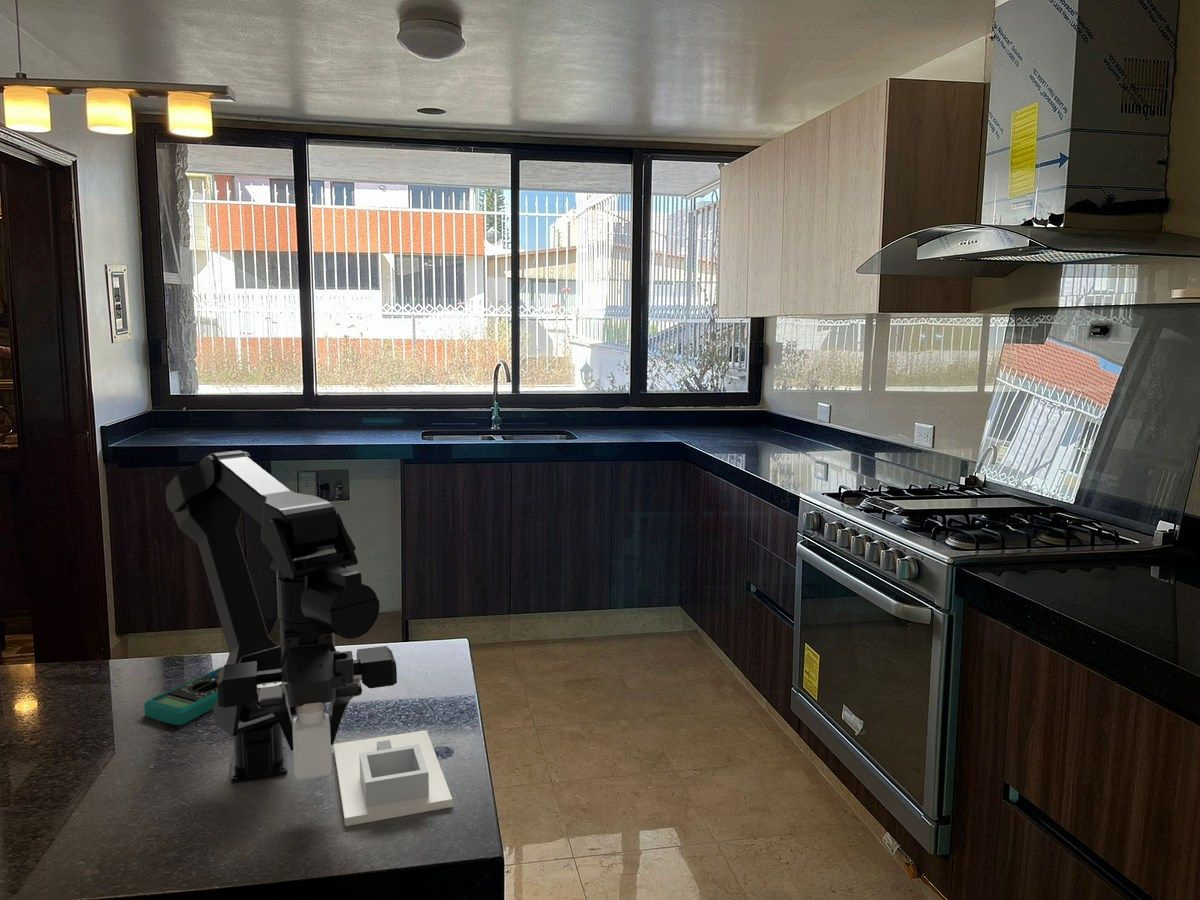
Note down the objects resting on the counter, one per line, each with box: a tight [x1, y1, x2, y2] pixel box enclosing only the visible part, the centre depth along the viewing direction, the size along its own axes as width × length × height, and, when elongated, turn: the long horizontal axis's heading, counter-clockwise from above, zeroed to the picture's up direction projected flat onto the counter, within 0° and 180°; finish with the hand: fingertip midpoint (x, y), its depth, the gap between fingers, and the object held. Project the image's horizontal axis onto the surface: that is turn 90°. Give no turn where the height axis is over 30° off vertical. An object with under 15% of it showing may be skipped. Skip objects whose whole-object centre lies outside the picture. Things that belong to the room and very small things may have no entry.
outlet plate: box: [333, 729, 454, 827], centre depth 109 cm, size 18×12×4 cm, turn 20°
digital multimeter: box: [143, 666, 223, 726], centre depth 130 cm, size 7×15×3 cm, turn 156°
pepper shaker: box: [292, 702, 333, 781], centre depth 101 cm, size 4×4×10 cm
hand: (312, 746), depth 101 cm, fingers closed on pepper shaker, 4 cm apart
